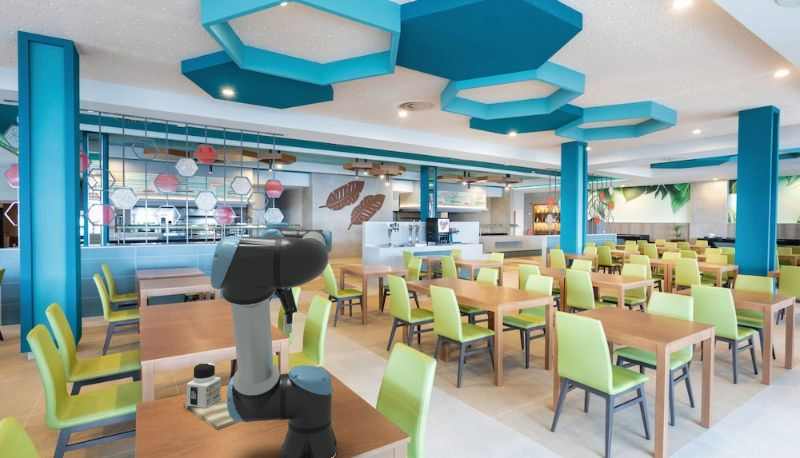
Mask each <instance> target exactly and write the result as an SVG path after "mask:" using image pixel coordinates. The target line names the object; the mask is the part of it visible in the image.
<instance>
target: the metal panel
mask: <svg viewBox="0 0 800 458" xmlns="http://www.w3.org/2000/svg"><path fill="white" fill-rule="evenodd" d="M182 403H183V407H184V408H186V409H187V410H188V411H190V412H191V413H193V414H194V415H196V416H197V417H198V418H199V419H201V420H203V421H204V422H206V423H207V424H209V425H210V426H211V427H212V428H214V429H216V430H217V431H218V430H221V429H223V428H226V427H229V426H231V425H235V424H236V423H238V422H237V421H234V420H233V419H232V418H231V417H230V415H229V412H228V408H227V401H226V400H224V399H222V398H221V399H220V400H218V401H217V402H215V403H214V404H212V405H210V406H209V407H207V408H200V407H193V406H187V400H186V401H184V402H183V401H182Z"/></svg>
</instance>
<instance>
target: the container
mask: <svg viewBox="0 0 800 458" xmlns="http://www.w3.org/2000/svg"><path fill="white" fill-rule="evenodd" d="M215 373H216V365H215V364H214V363H211V362H202V363H201V362H200V363H199V364H196V365H195V366H194V367H193V379H192V380H190V381H189V382H187V383H186V401H187V406H193V407H200V408H207V407H209V406H210V405H212V404H214V403H215V402H217V401H218V400H220V399H222V396H221V395H222V393H221V392H222V391H221V390H222V377H219V376H216V374H215Z"/></svg>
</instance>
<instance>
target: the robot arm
mask: <svg viewBox="0 0 800 458" xmlns="http://www.w3.org/2000/svg"><path fill="white" fill-rule="evenodd" d="M265 225H266V226H265V231H263V232H262V233H261V235H260V236H243V235H239V236H225V237H223V238H221V239H220V240H219V242H218V243H217V245H216V247H215V250H214V253H213V256H212V262H211V269H210V285H211V287H212V288H213V289H216V290H221V293H222V298H223V300H225V301H226V302H227V303H229V304H230V308H231V317H232V318H231V319H232V326H233V327H232V328H233V337H234V347H235V354H236V355H235V356H236V363H237V371H235V373H234V375H233V376H232V377H231V378H230V379H229V382H228V385H227V389H226V399H227V401H226V402H227V408H228V412H229V415H230V417H231V418H232V419H233V420H234V421H237V423H239V422H241V423H242V422H243V423H250V422H252V423H253V422H268V421H269V422H270V421H280V420H281V421H283V420H284V421H286V420H288V421H287V422H288V425H287V426H288V427H287V430H286V433H285V437H284V441H283V443H282V445H281V447H280V448H281V449H280V458H331V457H333V456H334V455H335V453H336V452H337V453H338V441H337V439H336V435H335V432H334V429H333V426H332V417H333V416H332V415H333V414H332V404H333V402H332V399H333V396H332V395H333V394H332V393H333V390H334V388H333V381H332V380H333V379H332V375H331V374H330V372H329V371H328V370H327V369H326V368H325V369H324V368H323V367H320V366H315V365H308V364H307V365H305V364H303V365H299V366H293V367H291V368H290V370H289V372H288V373H281V372H280V369H279V368H278V365H276V364H275V363H274V358H273V355H274V354H273V339H272V322H271V321H272V320H271V307H270V302H271V300H272V298H273V297H274V296H276V297H277V298H278V299H279V301H280V302H281V303H280V304H281V306H282V308H283V310H284V313H283V335H288V334H292V331H293V317H294V316H293V314H294V313H295V314H296V313H298V309H297V304H296V300H295V297H294V293H293V288H297V287H300V286H303V285H306V284H308V283H311V282H312V281H313V280H315V279H317V278H318V277H319V276H321V275H322V274H323V273H324V271H325V270H326V269H327V267H328V263H329V253H331V252H332V251H333V249H332V247H333V246H332V245H333V233H332V231H331V230H329V229H322V228H321V229H299V228H298V229H296V228H295V229H293V228H290V226H289V225H290V224H289V223H288V222H277V221H275V222H267V223H266V224H265Z"/></svg>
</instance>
